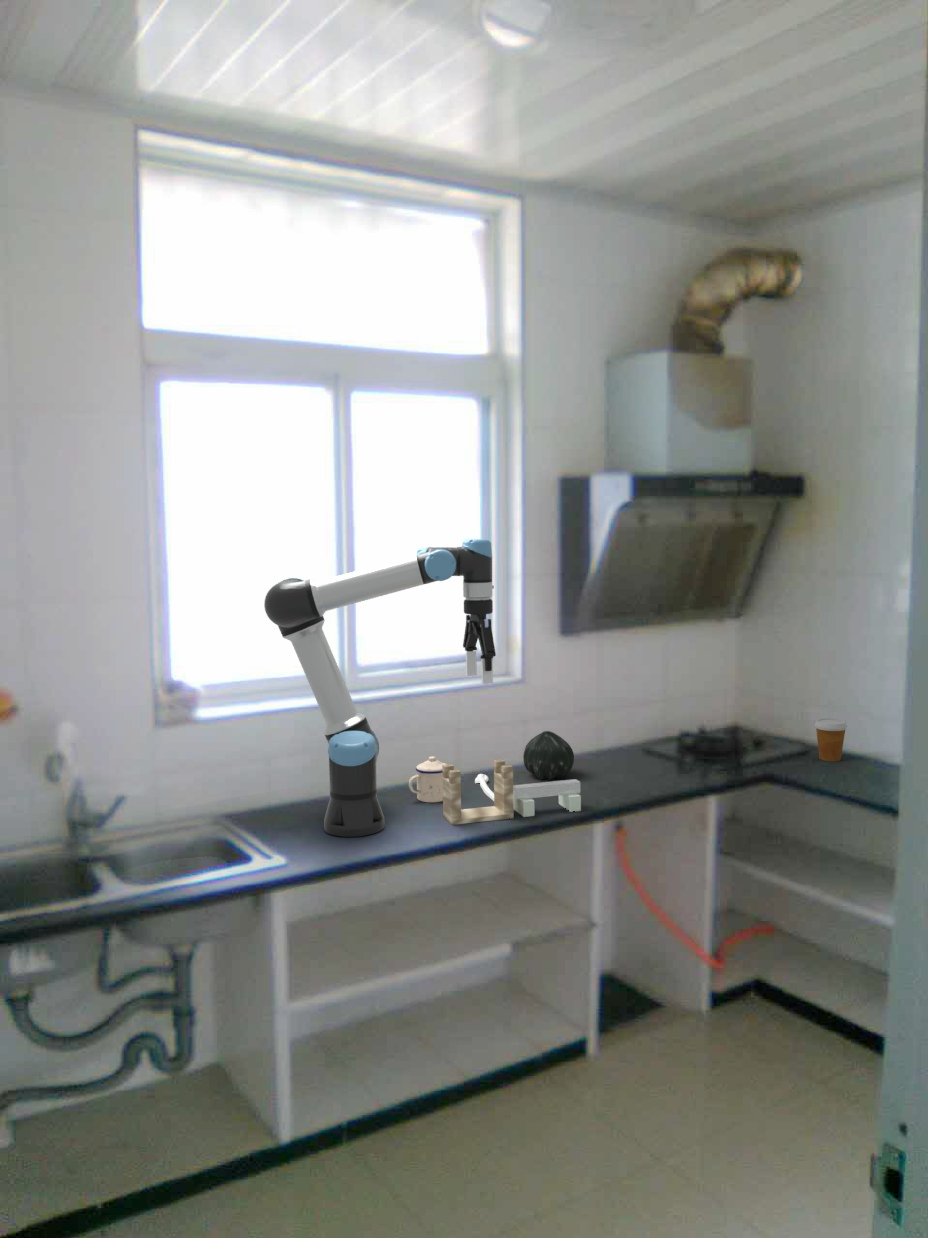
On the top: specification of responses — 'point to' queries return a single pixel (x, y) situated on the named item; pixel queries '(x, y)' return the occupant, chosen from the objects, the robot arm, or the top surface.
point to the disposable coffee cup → (830, 738)
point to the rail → (546, 789)
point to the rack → (496, 812)
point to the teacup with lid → (429, 781)
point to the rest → (567, 801)
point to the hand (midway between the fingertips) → (479, 679)
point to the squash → (548, 756)
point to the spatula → (484, 785)
